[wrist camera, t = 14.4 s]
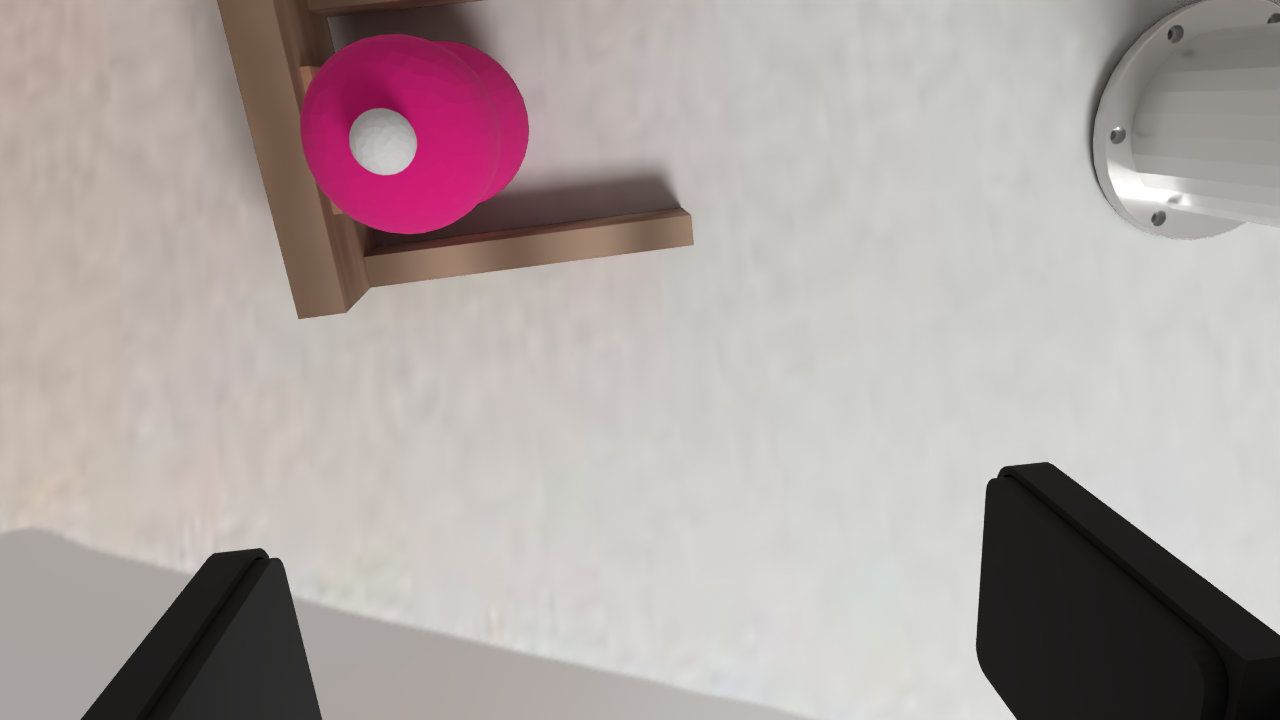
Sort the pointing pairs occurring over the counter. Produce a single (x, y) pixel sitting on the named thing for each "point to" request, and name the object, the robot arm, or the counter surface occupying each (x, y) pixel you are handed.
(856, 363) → the counter surface
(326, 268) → the spice rack
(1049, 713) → the robot arm
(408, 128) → the pepper mill
